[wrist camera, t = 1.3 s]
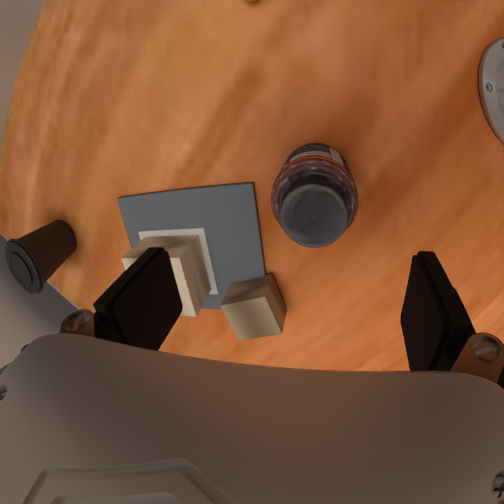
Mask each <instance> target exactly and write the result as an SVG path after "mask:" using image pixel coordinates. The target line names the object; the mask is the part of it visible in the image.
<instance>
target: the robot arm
mask: <svg viewBox="0 0 504 504" xmlns="http://www.w3.org/2000/svg"><path fill="white" fill-rule="evenodd" d="M478 80H479V92H480V98H481V102H482V106H483V109H484V112H485V115H486V117H487V119H488V122H489V124H490V126H491V128H492V129H493V131H494V133H495V134H496V136H497V137H498V138H499V139H500V141H501V142H502V143H503V144H504V38H501V39H497V40H496V41H494V42H492V43H491V44H490V45H489V46H488V47H487V48H486V50H485V52H484V54H483V56H482V59H481V62H480V66H479V76H478ZM486 87H487V89H486ZM93 305H94V308H95V310H96V312H95V313H94V314H93V312H92V311H90V310H88V309H80V310H77V311H74V312H72V313H71V314H69V315H67V316H66V317H65V318H64V320H63V321H62V323H61V326H60V333H57V334H49V335H45V336H41V337H38V338H36V339H35V340H33V341H32V342H31V343H30V344H27V345H25V346H24V347H23V348H22V350H21V352H20V353H19V354H18V355H17V357H15V358H14V360H13V361H12V362H11V363H9V364H8V365H6V366H4V367H3V368H1V369H0V504H504V344H503V343H502V342H501V341H500V339H499V338H497V337H495V336H494V335H492V334H489V333H483V332H481V333H476V332H475V329H474V327H473V325H472V323H471V320H470V318H469V316H468V314H467V312H466V309H465V307H464V305H463V303H462V301H461V299H460V297H459V295H458V293H457V291H456V289H455V288H454V287H452V285H451V283H450V281H449V279H448V277H447V275H446V273H445V271H444V269H443V267H442V266H441V264H440V262H439V260H438V258H437V257H436V255H435V253H434V252H431V251H419V252H418V254H417V255H414V256H413V258H412V263H411V269H410V274H409V280H408V285H407V290H406V294H405V299H404V304H403V308H402V312H401V327H402V331H403V336H404V341H405V346H406V351H407V357H408V362H409V368H410V371H336V370H314V369H297V368H284V367H272V366H261V365H251V364H242V363H234V362H226V361H218V360H211V359H204V358H197V357H191V356H184V355H178V354H172V353H167V352H161V351H158V350H159V348H160V346H161V345H162V343H163V342H164V340H165V338H166V337H167V335H168V334H169V332H170V330H171V329H172V327H173V325H174V324H175V322H176V321H177V319H178V317H179V316H180V314H181V312H182V309H183V304H182V301H181V297H180V294H179V290H178V286H177V283H176V279H175V275H174V272H173V268H172V264H171V260H170V256H169V253H168V252H167V251H165V249H164V248H163V247H149V248H148V249H147V250H146V251H145V252H144V253H143V254H142V255H141V256H140V257H139V258H138V259H137V260H136V261H135V262H134V263H133V264H132V265H131V266H130V267H129V268H128V269H127V270H126V271H125V272H124V273H123V274H122V275H121V276H120V277H119V278H118V279H117V280H116V281H115V282H114V283H113V284H112V285H111V286H110V287H109V288H108V289H107V290H106V291H105V292H104V293H103V294H102V295H101V296H100V297H99V299H98V300H97V301H96V302H95V303H94V304H93Z"/></svg>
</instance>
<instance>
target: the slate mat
mask: <svg viewBox="0 0 504 504" xmlns="http://www.w3.org/2000/svg"><path fill="white" fill-rule="evenodd" d="M117 200H118V204H119V208H120V211H121V215H122V218H123V222H124V225H125V228H126V232H127V235H128V238H129V242H130V245H131V248H133V247H134V246H135V245H136V244H137V243H138V242H140V241H141V240H142V239H143V238H144V237H156V236H177V235H199V238H200V243H201V247H202V252H203V256H204V260H205V265H206V269H207V273H208V277H209V281H210V285H211V291H210V293H209V295H208V296H207V298H206V300H205V302H204V304H203V305H202V307H201V308H205V309H221V307H220V304H221V302H222V300H223V298H224V296H225V294H226V292H227V290H228V288H229V286H230V284H232V283H236V282H241V281H245V280H249V279H254V278H258V277H262V276H266V272H265V264H264V256H263V248H262V241H261V233H260V226H259V218H258V211H257V203H256V196H255V189H254V182H247V183H234V184H223V185H212V186H202V187H192V188H183V189H175V190H166V191H158V192H151V193H143V194H136V195H129V196H122V197H119V198H117Z"/></svg>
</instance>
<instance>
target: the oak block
mask: <svg viewBox="0 0 504 504" xmlns="http://www.w3.org/2000/svg"><path fill="white" fill-rule="evenodd" d="M220 307H221V309H222V310H223V312H224V314H225V316H226V318H227V319H228V321H229V323H230V325H231V326H232V328H233V330H234V332H235V333H236V335H237V337H238V339H239V340H244V339H251V338H258V337H265V336H271V335H277V334H282V331H283V326H284V321H285V316H286V311H287V309H286V307H285V305H284V302H283V300H282V298H281V295H280V293H279V290H278V288H277V286H276V283H275V281H274V279H273V276H272V274H271V275H266V276H262V277H258V278H254V279H249V280H245V281H241V282H236V283H232V284H230V286H229V288H228V290H227V292H226V294H225V296H224V298H223V300H222V302H221V304H220Z"/></svg>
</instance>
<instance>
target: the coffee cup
mask: <svg viewBox="0 0 504 504" xmlns="http://www.w3.org/2000/svg"><path fill="white" fill-rule="evenodd" d="M76 244H77V242H76V237H75V234H74V232H73V230H72V228H71V227H70V226H69V225H68V224H67V223H66V222H65V221H63V220H56V221H54V222H52V223H50V224H48V225H45V226H43V227H41V228H39V229H37V230H35V231H33V232H31V233H29V234H27V235H25V236H23V237H21V238H19V239H17V240H16V239H10V240H9V241H8V242H7V245H6V247H5V257H6V261H7V264H8V267H9V269H10V271H11V273H12V275H13V277H14V278H15V280H16V281H17V282H18V283H19V285H20V286H21V287H22V288H23V289H25V290H26V291H28V292H30V293H33V294H34V293H40V292H41V291H42V289H43V284H44V283H45V282H46V281H47V280H48V279H49V278H50V276H51V275H52V274H53V273H54V272H55V271H56V270H57V269H58V268H59V267H60V265H61V264H62V263H63V262H64V261H65V260H66V259H67V258H68V257H69V256H70V255H71V254H72V253H73V252H74V251H75V249H76Z"/></svg>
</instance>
